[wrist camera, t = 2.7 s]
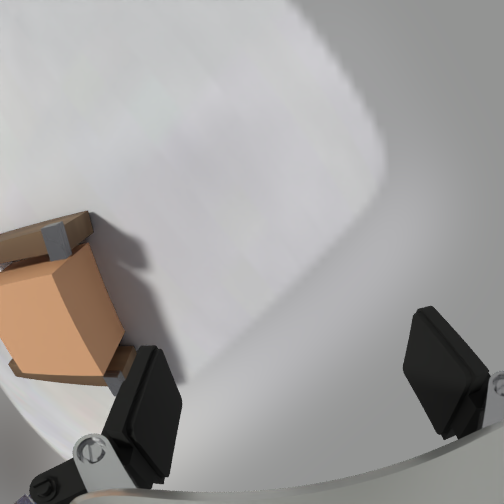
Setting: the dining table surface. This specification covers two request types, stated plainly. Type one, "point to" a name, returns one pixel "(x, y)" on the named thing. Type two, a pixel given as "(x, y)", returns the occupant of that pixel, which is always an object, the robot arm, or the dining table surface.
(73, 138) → the dining table surface
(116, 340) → the light orange block
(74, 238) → the brown wooden rail pair
